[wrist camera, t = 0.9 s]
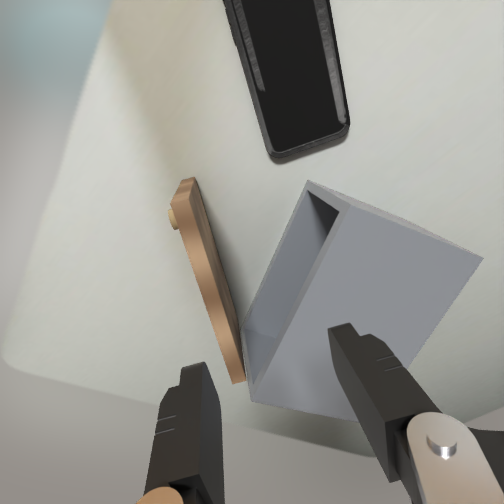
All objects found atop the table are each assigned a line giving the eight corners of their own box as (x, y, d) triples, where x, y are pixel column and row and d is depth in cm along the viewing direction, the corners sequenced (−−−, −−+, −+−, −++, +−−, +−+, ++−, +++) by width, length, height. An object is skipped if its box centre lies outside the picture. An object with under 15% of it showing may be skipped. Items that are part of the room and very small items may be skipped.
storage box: (407, 220, 33) (483, 258, 24) (330, 352, 38) (368, 424, 29) (307, 179, 30) (350, 204, 21) (240, 329, 35) (250, 401, 26)
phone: (315, -82, 22) (352, 133, 28) (310, -73, 23) (347, 132, 29) (210, -45, 22) (269, 162, 28) (210, -38, 23) (267, 160, 29)
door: (237, 319, 34) (246, 380, 26) (218, 324, 34) (221, 387, 26) (194, 176, 28) (188, 198, 20) (171, 183, 28) (154, 207, 20)
